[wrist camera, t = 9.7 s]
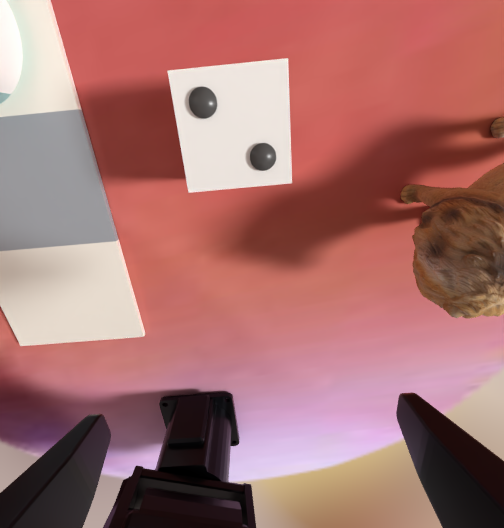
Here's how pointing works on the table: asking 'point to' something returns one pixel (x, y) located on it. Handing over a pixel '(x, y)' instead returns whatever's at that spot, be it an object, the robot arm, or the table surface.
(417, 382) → the table surface
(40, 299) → the board
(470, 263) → the lion figurine
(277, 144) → the die
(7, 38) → the can
